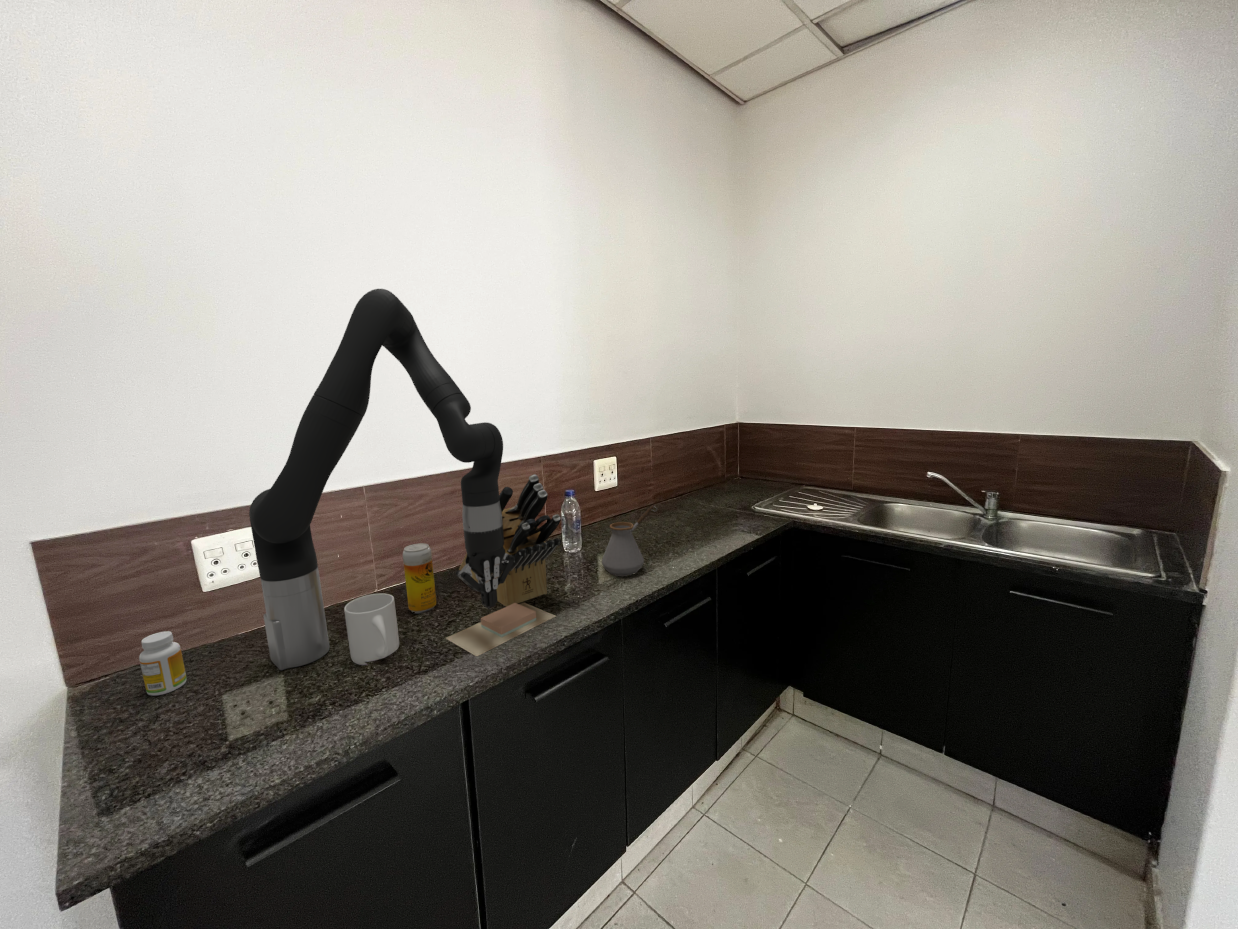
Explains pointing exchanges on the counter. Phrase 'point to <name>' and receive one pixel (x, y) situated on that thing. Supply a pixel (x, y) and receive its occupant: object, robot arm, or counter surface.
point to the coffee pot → (623, 549)
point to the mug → (371, 627)
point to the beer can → (419, 577)
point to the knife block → (525, 543)
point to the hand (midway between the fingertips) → (490, 606)
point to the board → (492, 634)
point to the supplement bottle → (162, 664)
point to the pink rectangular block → (508, 619)
